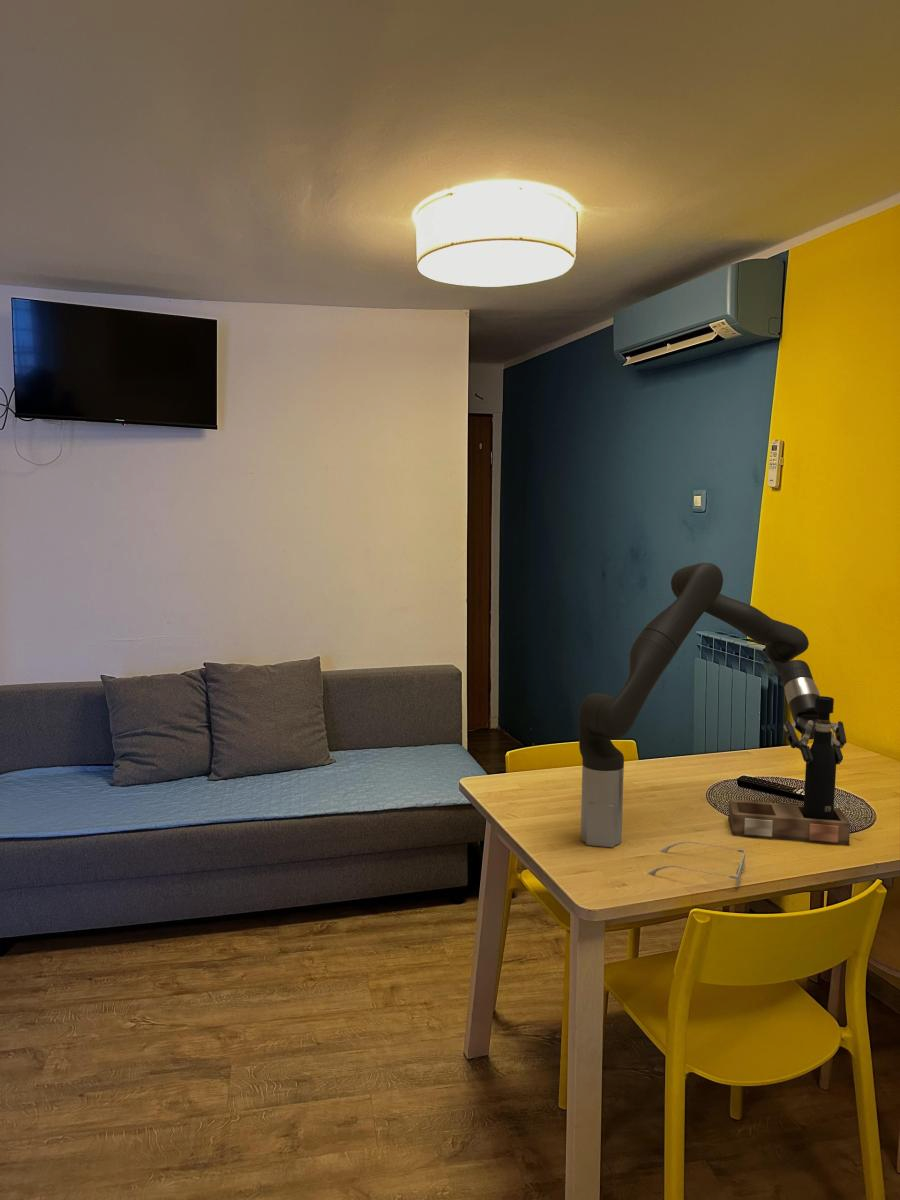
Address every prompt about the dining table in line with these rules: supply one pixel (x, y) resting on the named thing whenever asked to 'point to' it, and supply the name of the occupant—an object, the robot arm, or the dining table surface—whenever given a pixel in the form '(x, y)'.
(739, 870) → the eyeglasses
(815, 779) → the black insulated water bottle
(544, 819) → the dining table surface
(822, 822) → the socket board
